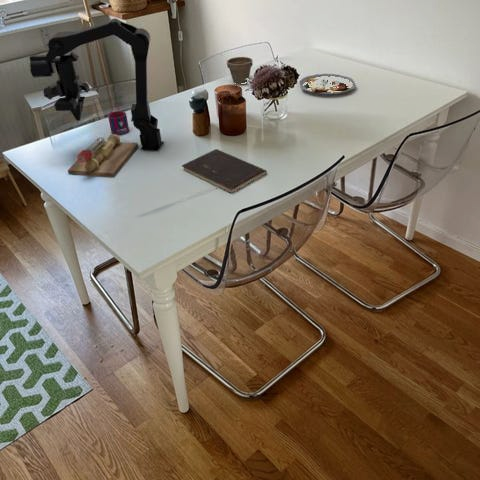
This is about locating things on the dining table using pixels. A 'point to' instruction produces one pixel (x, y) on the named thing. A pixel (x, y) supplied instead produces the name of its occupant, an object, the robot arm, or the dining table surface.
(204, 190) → the butter knife
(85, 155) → the lever
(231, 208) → the dining table surface
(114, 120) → the mug
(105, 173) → the valve board
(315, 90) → the food plate
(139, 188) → the dining table surface
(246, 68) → the flower pot
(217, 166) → the hardcover book
